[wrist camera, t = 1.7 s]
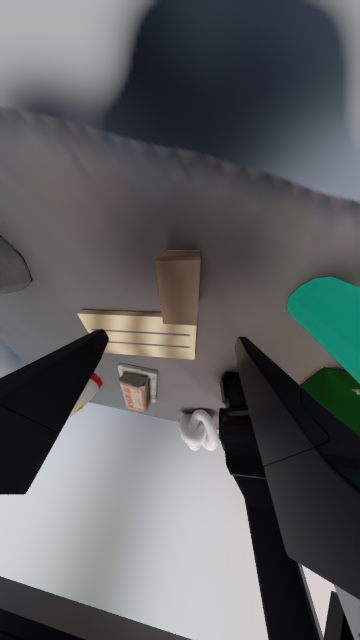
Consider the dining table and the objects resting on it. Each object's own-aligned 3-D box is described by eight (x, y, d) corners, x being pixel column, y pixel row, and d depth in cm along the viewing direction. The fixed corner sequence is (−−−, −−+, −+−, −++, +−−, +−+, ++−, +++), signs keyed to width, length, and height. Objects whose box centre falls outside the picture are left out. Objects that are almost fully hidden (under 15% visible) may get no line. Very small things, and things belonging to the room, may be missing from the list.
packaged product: (152, 415, 39) (120, 409, 39) (157, 398, 43) (127, 393, 43) (153, 388, 28) (108, 379, 28) (158, 368, 32) (119, 360, 32)
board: (196, 314, 20) (196, 318, 19) (194, 354, 26) (194, 359, 25) (82, 309, 23) (76, 313, 22) (104, 348, 29) (100, 352, 28)
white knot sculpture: (200, 402, 40) (200, 441, 33) (225, 416, 44) (230, 453, 36) (176, 409, 46) (172, 444, 38) (200, 421, 49) (200, 454, 42)
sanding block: (200, 249, 15) (200, 260, 11) (197, 302, 19) (196, 325, 15) (166, 250, 16) (154, 260, 11) (171, 301, 20) (163, 324, 15)
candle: (329, 265, 14) (579, 346, 5) (353, 295, 16) (579, 401, 7) (276, 302, 18) (367, 394, 8) (301, 324, 19) (401, 423, 10)
